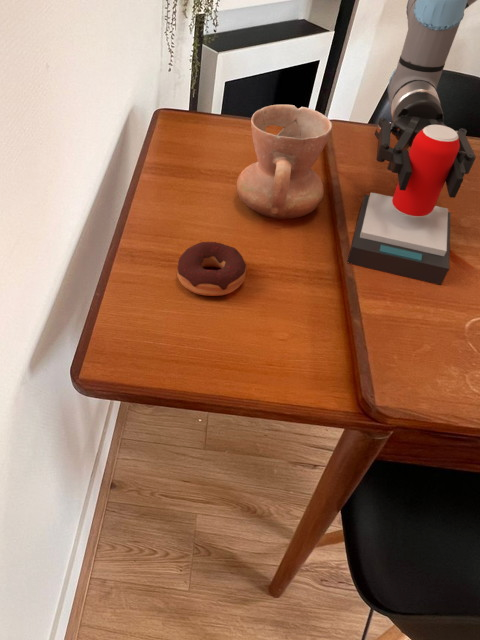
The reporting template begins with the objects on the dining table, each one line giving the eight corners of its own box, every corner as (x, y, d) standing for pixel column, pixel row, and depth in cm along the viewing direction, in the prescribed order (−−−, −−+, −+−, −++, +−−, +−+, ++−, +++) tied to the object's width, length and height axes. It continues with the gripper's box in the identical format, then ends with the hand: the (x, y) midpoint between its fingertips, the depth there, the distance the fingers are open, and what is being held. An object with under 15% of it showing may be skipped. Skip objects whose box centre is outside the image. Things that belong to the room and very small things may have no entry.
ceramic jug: (244, 174, 97) (254, 91, 86) (323, 187, 95) (343, 105, 84) (224, 227, 85) (232, 139, 74) (313, 243, 83) (335, 156, 72)
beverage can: (424, 200, 83) (456, 123, 74) (435, 223, 79) (470, 143, 70) (386, 198, 83) (413, 120, 74) (394, 220, 78) (424, 140, 69)
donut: (212, 249, 81) (214, 227, 78) (259, 281, 76) (263, 259, 73) (162, 275, 76) (162, 252, 73) (208, 311, 71) (210, 288, 68)
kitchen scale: (441, 285, 78) (452, 263, 75) (346, 263, 80) (353, 240, 77) (443, 228, 88) (453, 206, 85) (359, 210, 90) (366, 188, 87)
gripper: (465, 145, 89) (489, 219, 74) (352, 130, 91) (353, 199, 76) (485, 98, 83) (516, 168, 68) (364, 83, 85) (368, 148, 70)
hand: (430, 184), depth 72 cm, fingers closed on beverage can, 6 cm apart
